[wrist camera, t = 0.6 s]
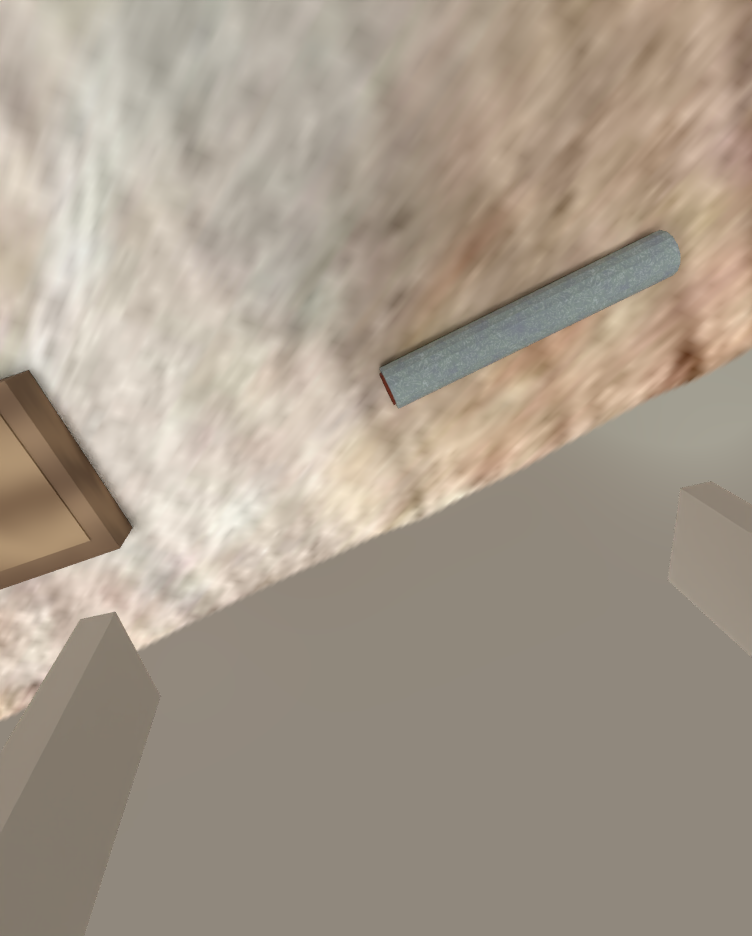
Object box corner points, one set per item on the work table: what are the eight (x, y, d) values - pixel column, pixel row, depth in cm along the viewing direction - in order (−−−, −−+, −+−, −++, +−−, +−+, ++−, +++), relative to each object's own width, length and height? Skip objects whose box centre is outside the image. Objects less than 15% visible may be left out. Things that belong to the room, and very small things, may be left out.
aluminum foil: (647, 229, 36) (679, 227, 32) (660, 313, 38) (691, 319, 35) (374, 364, 37) (380, 375, 34) (407, 435, 40) (416, 451, 37)
